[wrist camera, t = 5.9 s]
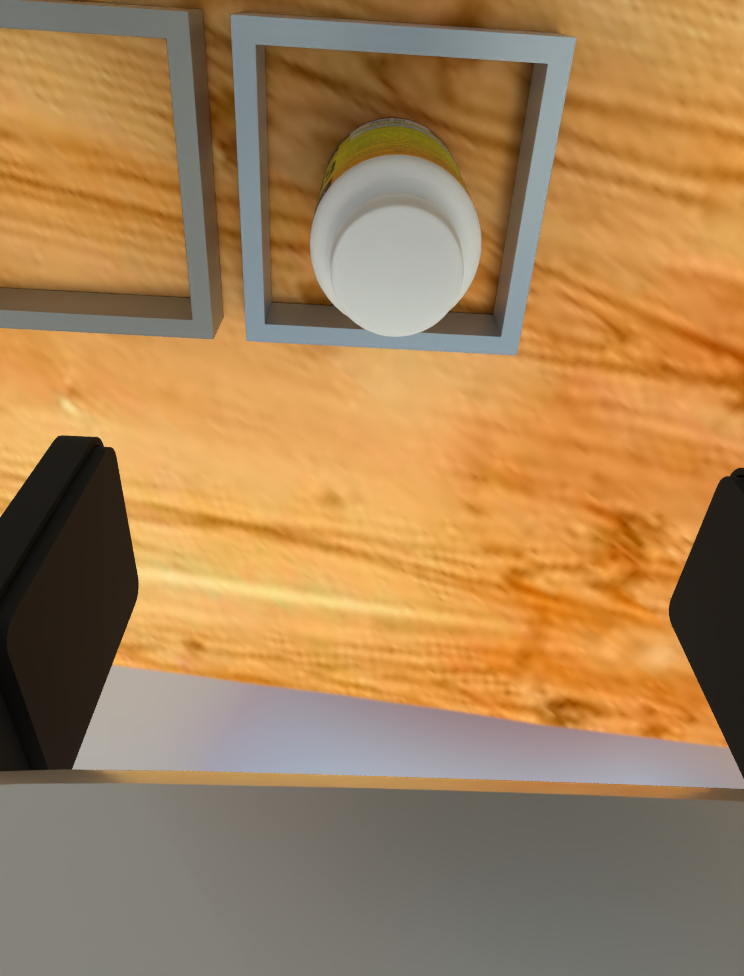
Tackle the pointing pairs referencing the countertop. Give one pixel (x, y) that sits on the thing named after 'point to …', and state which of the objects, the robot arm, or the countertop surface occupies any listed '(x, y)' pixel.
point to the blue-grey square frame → (527, 199)
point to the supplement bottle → (394, 229)
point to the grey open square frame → (48, 8)
